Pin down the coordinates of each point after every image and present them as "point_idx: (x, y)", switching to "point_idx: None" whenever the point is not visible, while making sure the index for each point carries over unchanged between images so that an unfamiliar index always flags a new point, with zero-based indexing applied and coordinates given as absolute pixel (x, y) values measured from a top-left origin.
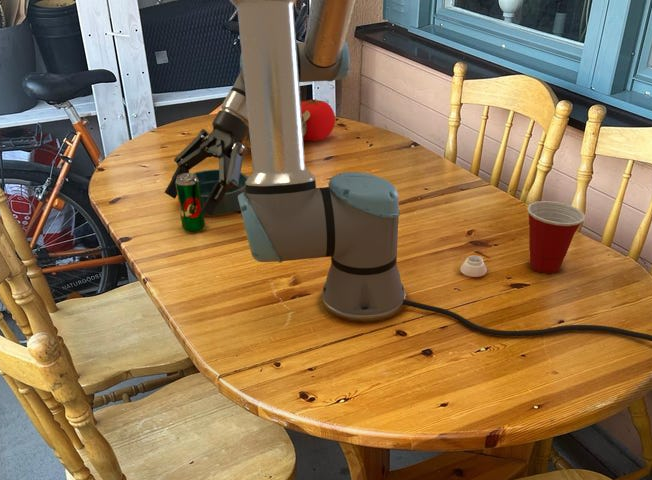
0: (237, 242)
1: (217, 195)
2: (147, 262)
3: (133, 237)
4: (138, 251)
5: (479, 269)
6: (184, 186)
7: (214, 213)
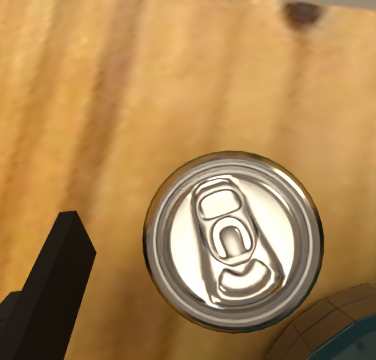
0: None
1: (1, 315)
2: (110, 10)
3: (301, 37)
4: (193, 14)
5: None
6: (166, 179)
7: (268, 356)
